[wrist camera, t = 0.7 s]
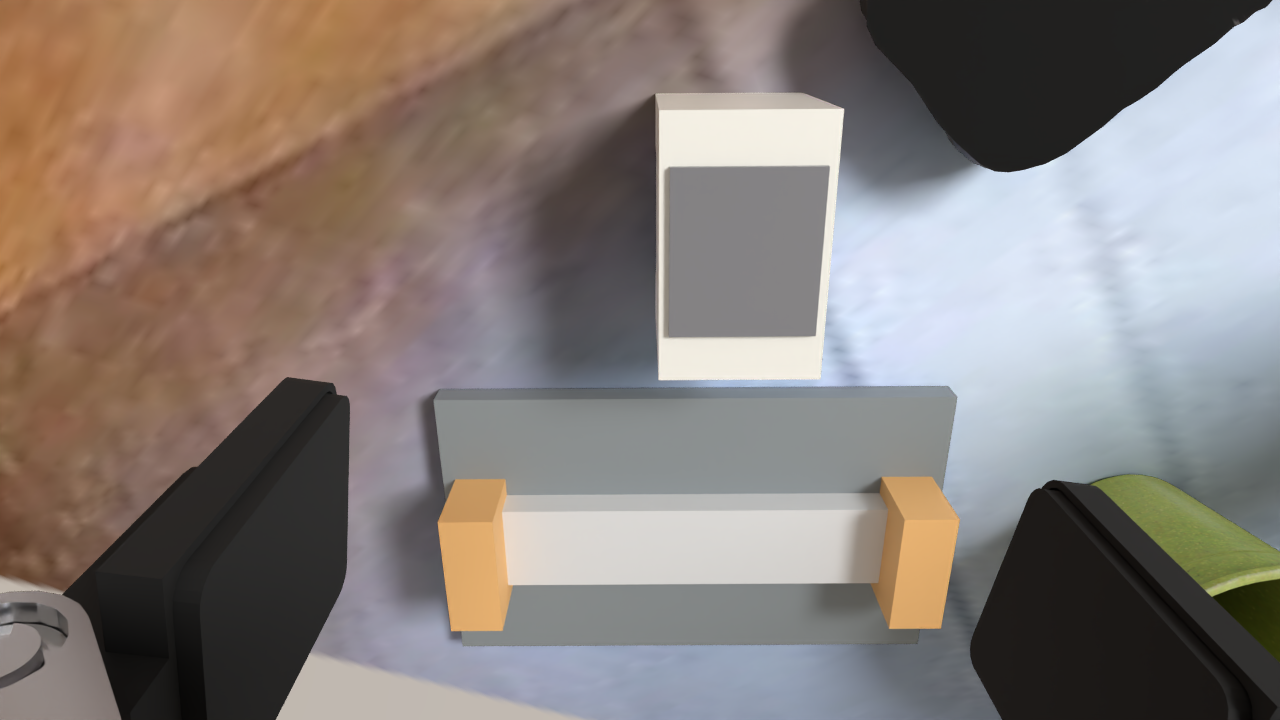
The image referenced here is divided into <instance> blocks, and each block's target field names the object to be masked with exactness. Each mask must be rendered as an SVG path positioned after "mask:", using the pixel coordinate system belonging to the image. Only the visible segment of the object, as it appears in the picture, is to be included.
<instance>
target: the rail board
mask: <svg viewBox="0 0 1280 720" xmlns="http://www.w3.org/2000/svg"><path fill="white" fill-rule="evenodd" d="M433 401H434V409H435V418H436V426H437V435H438V443H439V451H440V460H441V468H442V476H443V485H444V493H445V501H446V503H445V506H444V508H443V511H442V513H441V515H440V518H439V520H438V530H439V538H440V546H441V554H442V562H443V570H444V578H445V586H446V594H447V602H448V610H449V618H450V626H451V631H461V635H462V644H463V646H601V645H795V644H917V642H918V636H919V630H920V629H941V625H942V619H943V613H944V608H945V602H946V596H947V591H948V585H949V579H950V573H951V568H952V562H953V556H954V551H955V545H956V539H957V534H958V528H959V522H960V519H959V517H958V516H957V514H956V513H955V511H954V510H953V508H952V507H951V505H950V504H949V502H948V500H947V499H946V497H945V496H944V494H943V493H942V489H943V483H944V476H945V470H946V464H947V458H948V452H949V446H950V440H951V433H952V427H953V421H954V415H955V409H956V403H957V396H956V395H955V394H954V392H953V391H952V390H951V389H950V388H949V387H948V386H883V387H725V388H567V389H439V391H438V393H437V395H436V397H435V398H434V400H433Z"/></svg>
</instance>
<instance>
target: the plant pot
mask: <svg viewBox="0 0 1280 720" xmlns="http://www.w3.org/2000/svg"><path fill="white" fill-rule="evenodd" d="M1091 485H1094V486H1097V487H1098V488H1100V489H1101V490H1102V491H1103V492H1104V493H1105V494H1106V495H1107V496H1109V497H1110V498H1111V499H1112V500H1113V501H1114V502H1115V503H1116V504H1117V505H1118V506H1119V507H1120V508H1121V509H1122V510H1123V511H1124V512H1125V513H1126V514H1127V515H1128V516H1129V517H1130V518H1131V519H1132V520H1133V521H1134V522H1135V523H1136V524H1137V525H1138V526H1139V527H1140V528H1141V529H1143V530H1144V531H1145V532H1146V533H1147V534H1148V535H1149V536H1150V537H1151V538H1152V539H1153V540H1154V541H1155V542H1156V543H1157V544H1158V545H1159V546H1160V547H1161V548H1162V549H1163V550H1164V551H1165V552H1166V553H1167V554H1168V555H1169V556H1170V557H1171V558H1172V559H1173V560H1174V561H1175V562H1176V563H1178V564H1179V565H1180V566H1181V567H1182V568H1183V569H1184V570H1185V571H1186V572H1187V573H1188V574H1189V575H1190V576H1191V577H1192V578H1193V579H1194V580H1195V581H1196V582H1197V583H1198V584H1199V585H1200V586H1201V587H1202V588H1203V589H1204V590H1205V591H1206V592H1207V593H1208V594H1209V595H1210V596H1211V597H1213V598H1214V599H1215V600H1216V601H1217V602H1218V603H1219V604H1220V605H1221V606H1222V607H1223V608H1224V609H1225V610H1226V611H1227V612H1228V613H1229V614H1230V615H1231V616H1232V617H1233V618H1234V619H1235V620H1236V621H1237V622H1238V623H1239V624H1240V625H1241V626H1242V627H1243V628H1244V629H1245V630H1246V631H1248V632H1249V633H1250V634H1251V635H1252V636H1253V637H1254V638H1255V639H1256V640H1257V641H1258V642H1259V643H1260V644H1261V645H1262V646H1263V647H1264V648H1265V649H1266V650H1267V651H1268V652H1269V653H1270V654H1271V655H1272V656H1273V657H1274V658H1275V659H1276V660H1277V661H1278V662H1279V663H1280V551H1278V550H1276V549H1275V548H1273V547H1271V546H1270V545H1268V544H1266V543H1265V542H1263V541H1262V540H1260V539H1258V538H1257V537H1255V536H1254V535H1252V534H1250V533H1249V532H1247V531H1245V530H1244V529H1242V528H1241V527H1239V526H1237V525H1236V524H1234V523H1233V522H1231V521H1229V520H1228V519H1226V518H1224V517H1223V516H1221V515H1219V514H1218V513H1216V512H1215V511H1213V510H1212V509H1210V508H1208V507H1207V506H1205V505H1204V504H1202V503H1200V502H1199V501H1197V500H1196V499H1194V498H1192V497H1191V496H1189V495H1188V494H1186V493H1184V492H1183V491H1181V490H1180V489H1178V488H1176V487H1175V486H1173V485H1171V484H1169V483H1168V482H1166V481H1163V480H1161V479H1158V478H1155V477H1151V476H1145V475H1130V474H1128V475H1120V476H1114V477H1110V478H1106V479H1103V480H1100V481H1098V482H1095V483H1093V484H1091Z"/></svg>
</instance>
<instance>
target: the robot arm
mask: <svg viewBox="0 0 1280 720" xmlns="http://www.w3.org/2000/svg"><path fill="white" fill-rule="evenodd" d="M349 425H350V403H349V399H348V397H347V396H342V395H337V393H336V389H335V386H334V385H333V383H327V382H319V381H312V380H304V379H297V378H289V377H287V378H285V379H284V380H283V381H282V382H281V383H280V384H279V385H278V386H277V387H276V388H275V389H274V390H273V391H272V392H271V393H270V394H269V395H268V396H267V397H266V398H265V399H264V400H263V401H262V402H261V403H260V404H259V405H258V406H257V407H256V408H255V409H254V410H253V411H252V412H251V413H250V414H249V415H248V416H247V417H246V418H245V419H244V420H243V421H242V422H241V423H240V424H239V425H238V426H237V427H236V428H235V429H234V430H233V432H232V433H231V434H230V435H229V436H228V437H227V438H226V439H225V440H224V441H223V442H222V443H221V444H220V445H219V446H218V447H217V448H216V449H215V450H214V451H213V452H212V453H211V454H210V455H209V456H208V457H207V458H206V459H205V460H204V461H203V462H202V463H201V464H200V465H199V466H198V467H192V468H190V469H189V470H188V471H186V472H185V473H183V474H182V475H181V476H180V477H179V478H178V479H177V480H176V481H175V482H174V483H173V484H172V485H171V486H170V487H169V488H168V489H167V490H166V491H165V492H164V493H163V494H162V495H161V496H160V497H159V498H158V499H157V500H156V501H155V502H154V503H153V504H152V505H151V506H150V507H149V508H148V509H147V510H146V511H145V512H144V513H143V514H142V515H141V516H140V517H139V518H138V519H137V520H136V521H135V522H134V523H133V524H132V525H131V526H130V527H129V528H128V529H127V530H126V531H125V532H124V533H123V534H122V535H121V536H120V537H119V538H118V539H117V540H116V541H115V542H114V543H113V544H112V545H111V546H110V547H109V548H108V549H107V550H106V551H105V552H104V553H103V554H102V555H101V556H100V557H99V558H98V559H97V560H96V561H95V562H94V563H93V564H92V565H91V566H90V567H89V568H88V569H87V570H86V571H85V572H84V573H83V574H82V575H81V576H80V577H79V578H78V579H77V580H76V581H75V582H74V583H73V584H72V585H71V586H70V587H69V588H68V589H67V590H66V591H65V592H64V593H63V594H62V595H60V594H54V593H48V592H42V591H20V592H19V591H18V592H6V593H1V594H0V720H276V718H277V716H278V714H279V712H280V710H281V708H282V706H283V704H284V702H285V700H286V698H287V696H288V694H289V692H290V691H291V689H292V687H293V685H294V683H295V680H296V679H297V677H298V675H299V673H300V671H301V669H302V667H303V665H304V663H305V661H306V659H307V657H308V655H309V653H310V651H311V649H312V647H313V645H314V643H315V641H316V640H317V638H318V636H319V634H320V632H321V630H322V628H323V626H324V624H325V622H326V620H327V618H328V616H329V614H330V612H331V610H332V608H333V606H334V604H335V602H336V600H337V598H338V596H339V594H340V592H341V590H342V586H343V583H344V579H345V575H346V568H347V529H348V477H349ZM970 655H971V660H972V664H973V666H974V669H975V670H976V672H977V674H978V676H979V678H980V680H981V681H982V683H983V685H984V687H985V689H986V691H987V693H988V694H989V696H990V698H991V700H992V702H993V704H994V705H995V707H996V709H997V711H998V713H999V715H1000V716H1001V718H1002V720H1280V663H1279V662H1278V661H1277V660H1276V659H1275V658H1274V657H1273V656H1272V655H1271V654H1270V653H1269V652H1268V651H1267V650H1266V649H1265V648H1264V647H1263V646H1262V645H1261V644H1260V643H1259V642H1258V641H1257V640H1256V639H1255V638H1254V637H1253V636H1252V635H1251V634H1250V633H1249V632H1248V631H1246V630H1245V629H1244V628H1243V627H1242V626H1241V625H1240V624H1239V623H1238V622H1237V621H1236V620H1235V619H1234V618H1233V617H1232V616H1231V615H1230V614H1229V613H1228V612H1227V611H1226V610H1225V609H1224V608H1223V607H1222V606H1221V605H1220V604H1219V603H1218V602H1217V601H1216V600H1215V599H1214V598H1213V597H1211V596H1210V595H1209V594H1208V593H1207V592H1206V591H1205V590H1204V589H1203V588H1202V587H1201V586H1200V585H1199V584H1198V583H1197V582H1196V581H1195V580H1194V579H1193V578H1192V577H1191V576H1190V575H1189V574H1188V573H1187V572H1186V571H1185V570H1184V569H1183V568H1182V567H1181V566H1180V565H1179V564H1178V563H1176V562H1175V561H1174V560H1173V559H1172V558H1171V557H1170V556H1169V555H1168V554H1167V553H1166V552H1165V551H1164V550H1163V549H1162V548H1161V547H1160V546H1159V545H1158V544H1157V543H1156V542H1155V541H1154V540H1153V539H1152V538H1151V537H1150V536H1149V535H1148V534H1147V533H1146V532H1145V531H1144V530H1143V529H1141V528H1140V527H1139V526H1138V525H1137V524H1136V523H1135V522H1134V521H1133V520H1132V519H1131V518H1130V517H1129V516H1128V515H1127V514H1126V513H1125V512H1124V511H1123V510H1122V509H1121V508H1120V507H1119V506H1118V505H1117V504H1116V503H1115V502H1114V501H1113V500H1112V499H1111V498H1110V497H1109V496H1107V495H1106V494H1105V493H1104V492H1103V491H1102V490H1101V489H1100V488H1098V487H1097V486H1094V485H1087V484H1079V483H1072V482H1064V481H1057V480H1052V481H1049V482H1047V483H1046V484H1045V485H1044V486H1043V487H1042V489H1040V488H1039V489H1036V490H1034V491H1033V492H1032V493H1031V495H1030V496H1029V498H1028V500H1027V503H1026V505H1025V508H1024V510H1023V513H1022V515H1021V518H1020V520H1019V523H1018V525H1017V528H1016V530H1015V533H1014V535H1013V538H1012V540H1011V542H1010V545H1009V547H1008V550H1007V552H1006V555H1005V557H1004V560H1003V562H1002V565H1001V567H1000V570H999V572H998V575H997V577H996V580H995V582H994V585H993V587H992V589H991V592H990V594H989V597H988V599H987V602H986V604H985V607H984V609H983V612H982V614H981V617H980V619H979V622H978V624H977V627H976V629H975V632H974V634H973V636H972V640H971V645H970Z"/></svg>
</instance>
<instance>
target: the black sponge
mask: <svg viewBox="0 0 1280 720" xmlns="http://www.w3.org/2000/svg"><path fill="white" fill-rule="evenodd" d="M1271 1H1272V0H860V5H861V11H862V13H863V15H864V16H865V18H866V20H867V28H868V30H869V32H870V34H871V36H872V39H873V41H874V43H875V45H876V46H877V47H878V48H879V49H880V50H881V51H882V52H883V53H884V55H885V56H886V57H887V58H888V59H889V60H890V61H891V62H892V63H893V64H894V65H895V66H896V67H897V68H898V69H899V70H900V71H901V72H902V74H903V75H904V76H905V77H906V78H907V79H908V80H909V81H910V82H911V83H912V84H913V86H914V88H915V89H916V91H917V92H918V94H919V95H920V97H921V98H922V100H923V101H924V103H925V104H926V106H927V108H928V109H929V111H930V112H931V114H932V115H933V117H934V118H935V120H936V121H937V123H938V124H939V125H940V126H941V127H942V128H943V129H944V130H945V131H946V134H947V136H948V138H949V140H950V141H951V143H952V144H953V145H954V146H955V148H956V149H957V150H958V151H959V152H960V153H962V154H963V155H964V156H965V157H967V158H968V159H969V160H970V161H972V162H973V163H975V164H977V165H980V166H982V167H985V168H988V169H991V170H993V171H998V172H1013V171H1020V170H1025V169H1028V168H1032V167H1035V166H1039V165H1043V164H1046V163H1048V162H1050V161H1052V160H1054V159H1056V158H1058V157H1060V156H1062V155H1064V154H1066V153H1067V152H1069V151H1070V150H1071V149H1073V148H1074V147H1076V146H1077V145H1078V144H1080V143H1081V142H1082V141H1084V140H1085V139H1087V138H1088V137H1089V136H1091V135H1092V134H1093V133H1095V132H1096V131H1098V130H1099V129H1100V128H1102V127H1103V126H1104V125H1105V124H1106V123H1108V122H1109V121H1110V120H1111V119H1112V118H1113V117H1115V116H1116V115H1117V114H1118V113H1119V112H1120V111H1121V110H1123V109H1124V108H1126V107H1127V106H1129V105H1131V104H1133V103H1134V102H1136V101H1138V100H1140V99H1141V98H1143V97H1144V96H1145V95H1147V94H1148V93H1150V92H1151V91H1153V90H1154V89H1156V88H1157V87H1158V86H1159V85H1161V84H1162V83H1163V82H1164V81H1165V80H1166V79H1167V78H1169V77H1170V76H1171V75H1172V74H1173V73H1174V72H1176V71H1177V70H1178V69H1179V68H1181V67H1182V66H1183V65H1184V64H1186V63H1187V62H1189V61H1190V60H1192V59H1193V58H1195V57H1196V56H1197V55H1199V54H1200V53H1202V52H1203V51H1205V50H1206V49H1208V48H1209V47H1211V46H1212V45H1213V44H1215V43H1216V42H1217V41H1218V40H1219V39H1221V38H1222V37H1223V36H1224V35H1225V34H1226V33H1227V32H1229V31H1230V30H1231V29H1232V28H1233V27H1234V26H1236V25H1239V24H1241V23H1243V22H1244V21H1245V20H1246V19H1248V18H1249V17H1250V16H1251V15H1252V14H1253V13H1255V12H1256V11H1258V10H1261V9H1263V8H1265V7H1266V6H1267V5H1268V4H1269V3H1270V2H1271Z"/></svg>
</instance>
